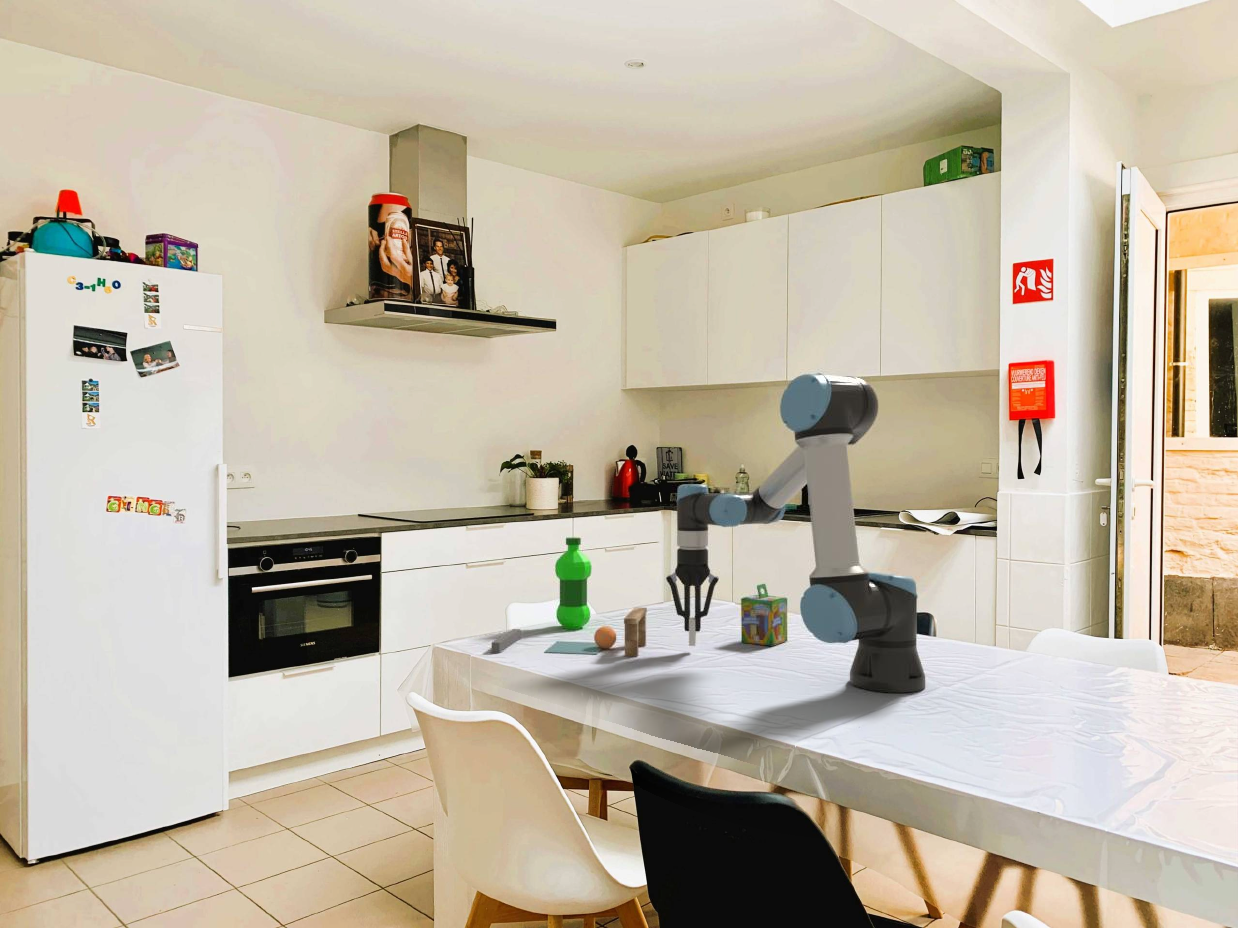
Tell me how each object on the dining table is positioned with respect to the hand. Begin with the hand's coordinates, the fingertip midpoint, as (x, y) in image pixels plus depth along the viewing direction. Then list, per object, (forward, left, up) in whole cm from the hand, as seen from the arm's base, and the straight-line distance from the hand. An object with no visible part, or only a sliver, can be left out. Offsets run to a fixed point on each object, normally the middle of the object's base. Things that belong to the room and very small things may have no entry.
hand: (692, 644), depth 220 cm
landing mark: (0, +29, -2) cm, 29 cm away
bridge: (0, +14, -2) cm, 14 cm away
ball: (+1, +22, +1) cm, 22 cm away
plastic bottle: (+27, +36, -2) cm, 45 cm away
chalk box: (+16, -17, -2) cm, 23 cm away
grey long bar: (0, +47, -2) cm, 47 cm away
